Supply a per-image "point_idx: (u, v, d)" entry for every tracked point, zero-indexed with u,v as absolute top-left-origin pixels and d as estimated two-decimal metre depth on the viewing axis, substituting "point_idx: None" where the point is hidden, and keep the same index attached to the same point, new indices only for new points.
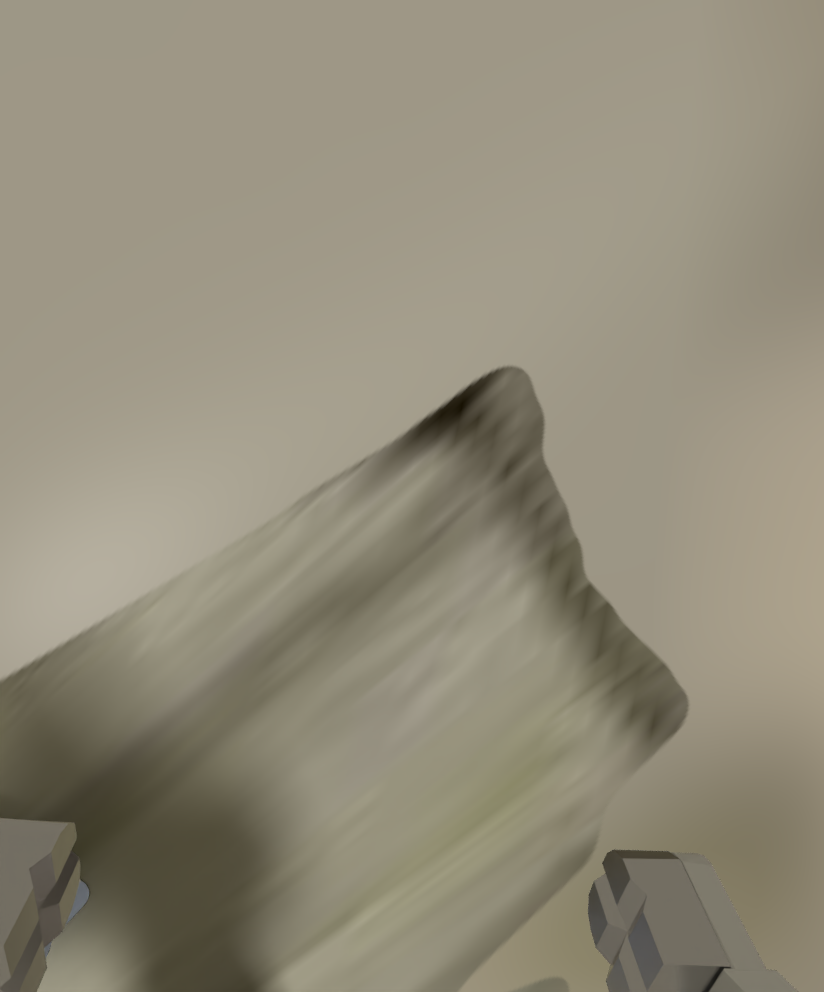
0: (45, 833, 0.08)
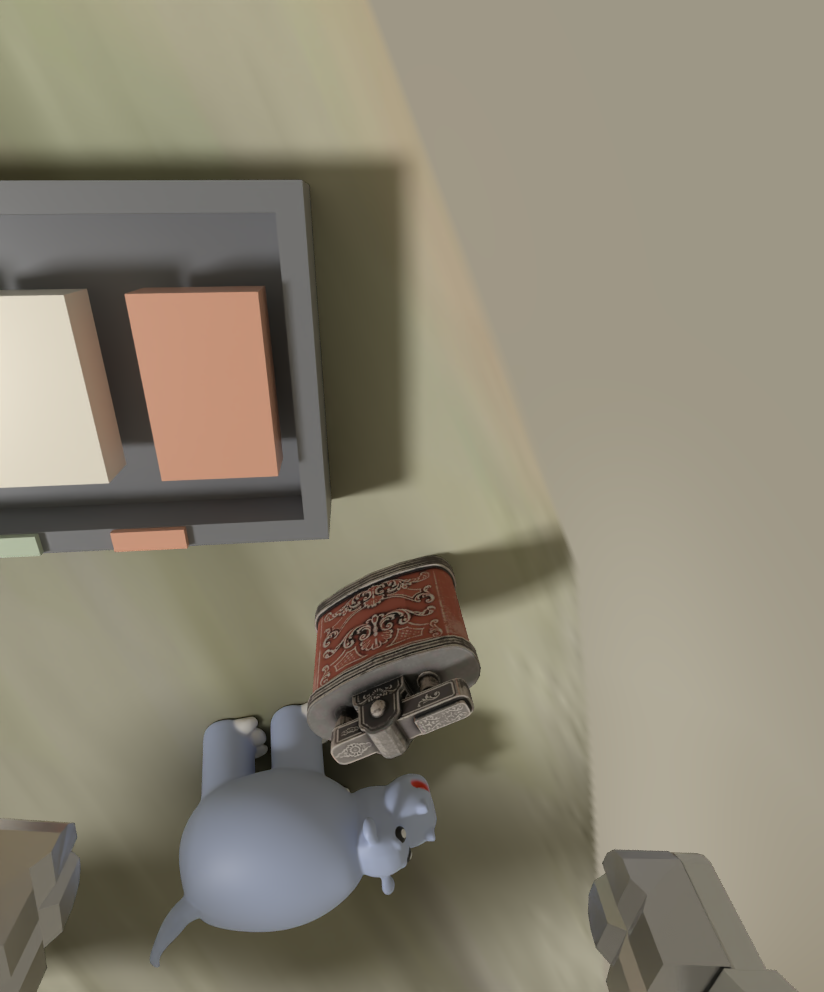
0: (45, 833, 0.08)
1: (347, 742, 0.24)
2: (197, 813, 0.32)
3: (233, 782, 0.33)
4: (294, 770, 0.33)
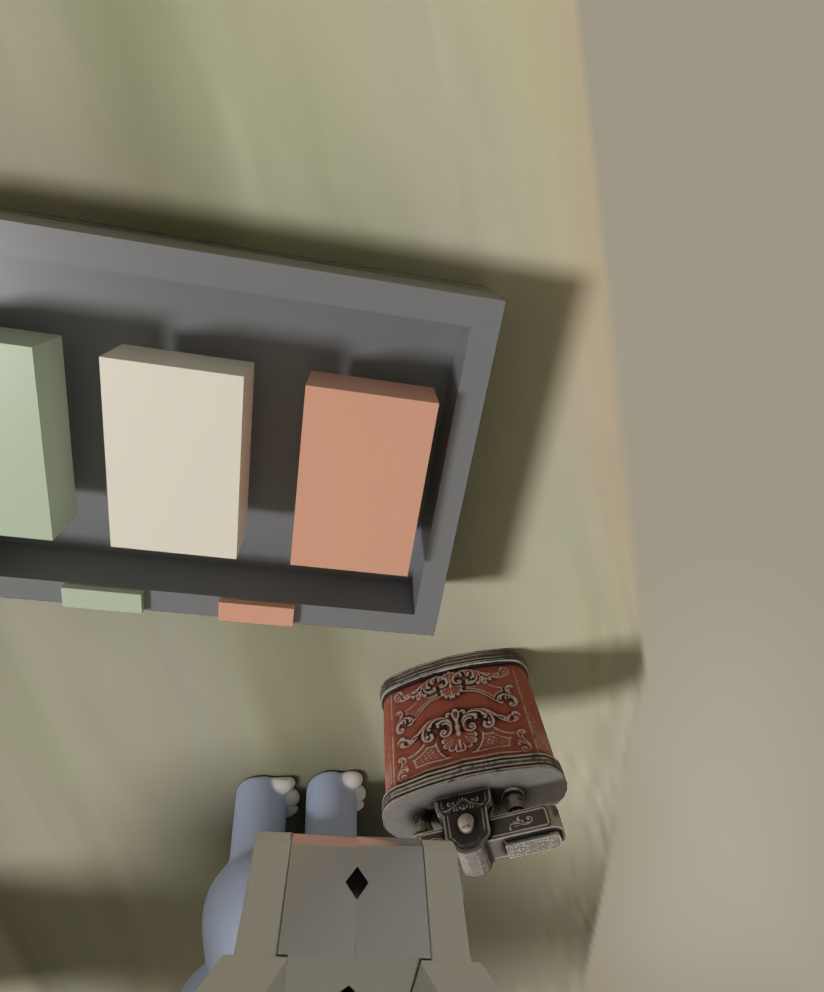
0: (344, 847, 0.08)
1: None
2: (229, 877, 0.31)
3: None
4: None
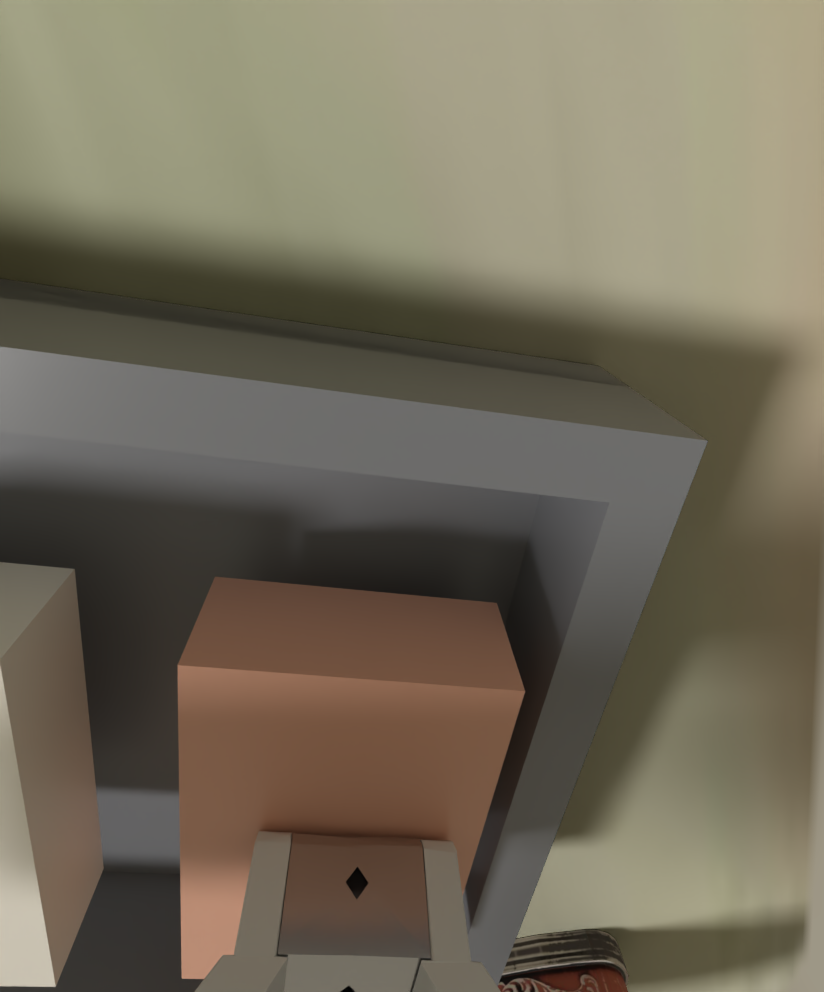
0: (344, 848, 0.08)
1: None
2: None
3: None
4: None
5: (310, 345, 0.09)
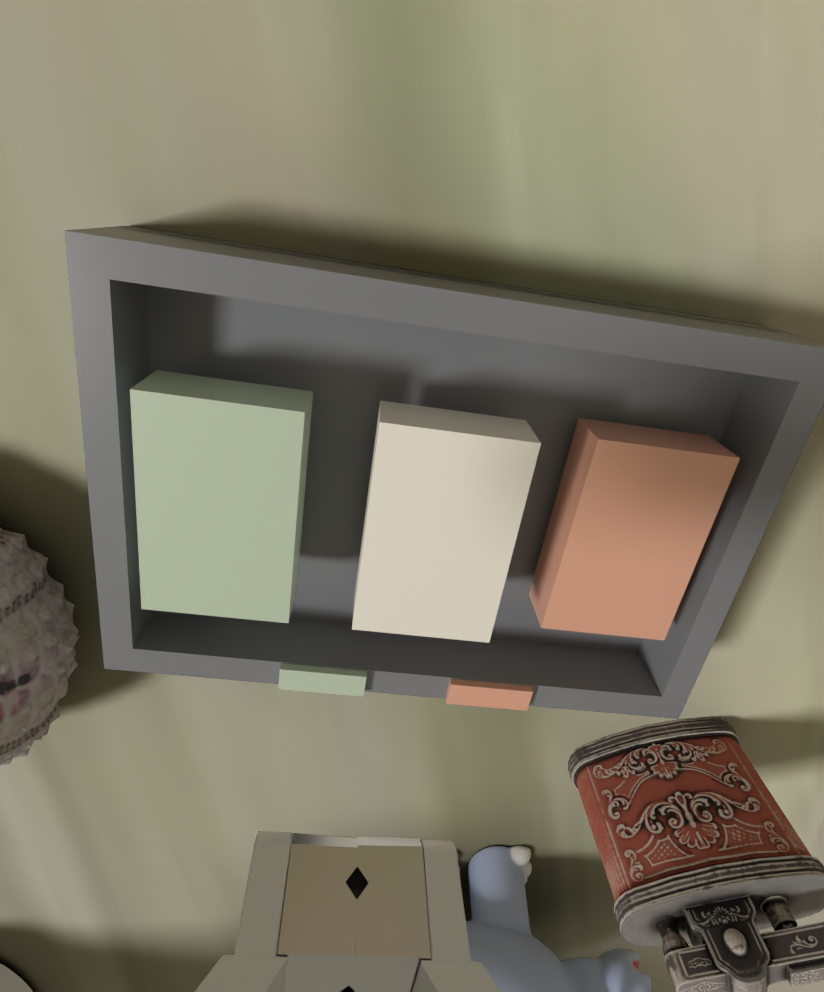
0: (344, 848, 0.08)
1: (701, 980, 0.20)
2: None
3: None
4: (512, 932, 0.29)
5: (642, 311, 0.18)
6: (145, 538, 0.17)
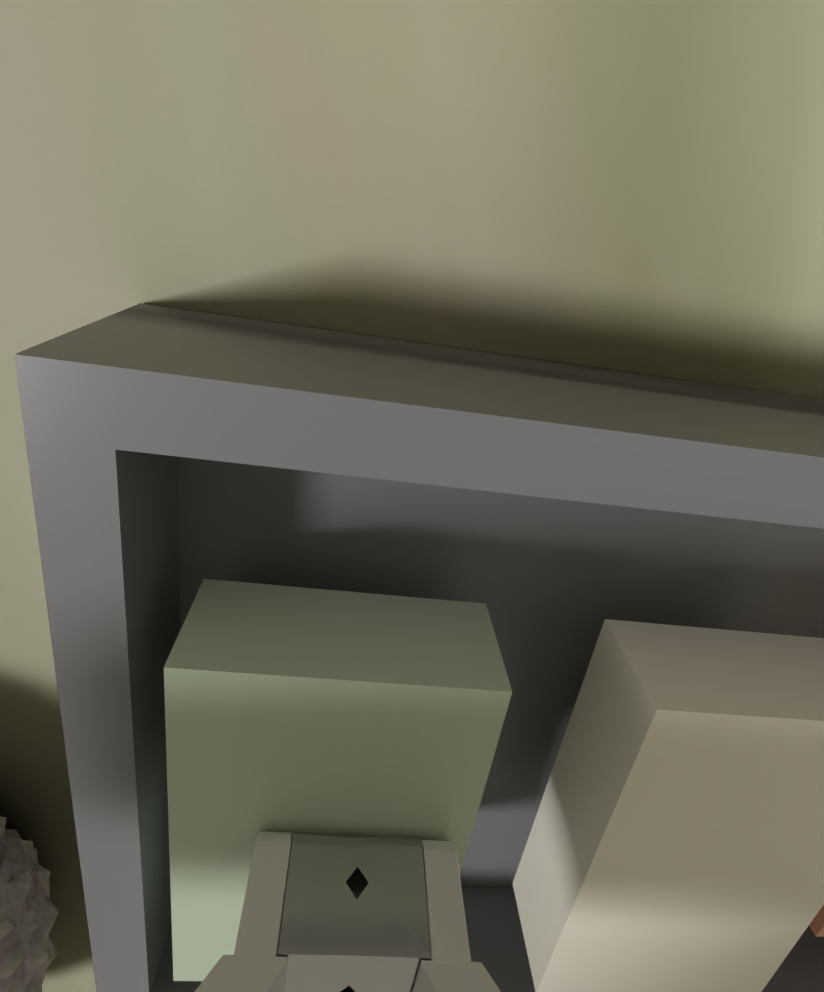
0: (344, 848, 0.08)
1: None
2: None
3: None
4: None
5: None
6: (185, 889, 0.09)
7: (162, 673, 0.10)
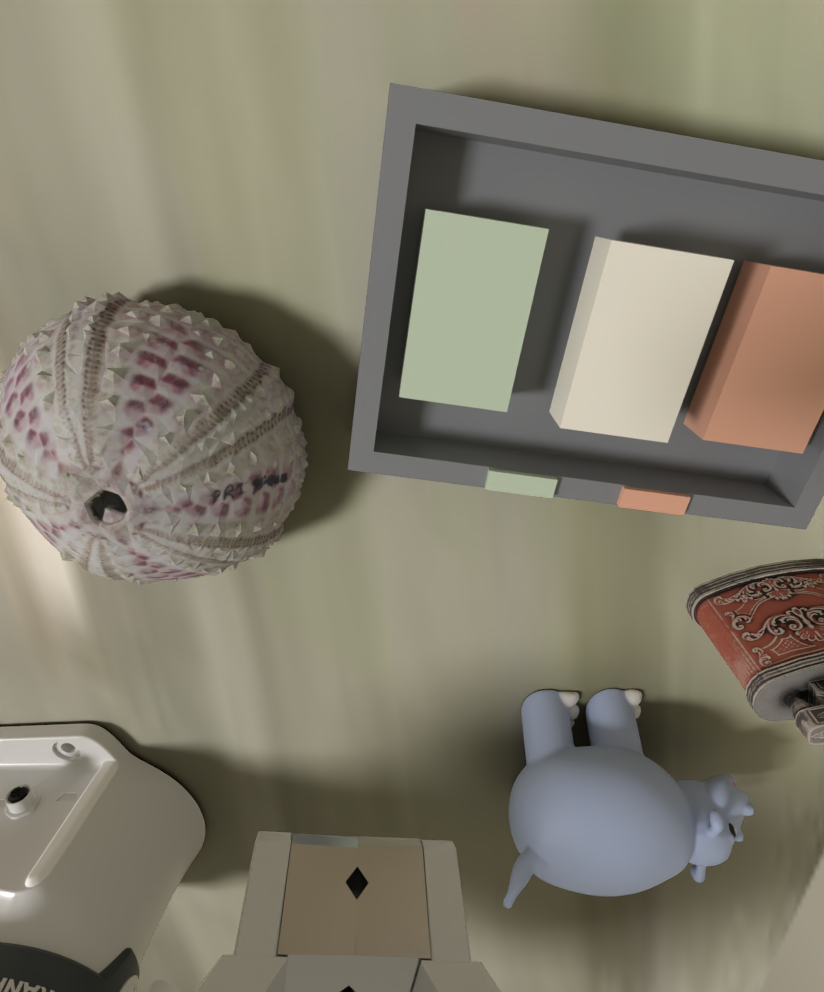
0: (344, 848, 0.08)
1: None
2: (545, 773, 0.34)
3: (576, 751, 0.34)
4: (632, 751, 0.35)
5: None
6: (413, 335, 0.23)
7: None
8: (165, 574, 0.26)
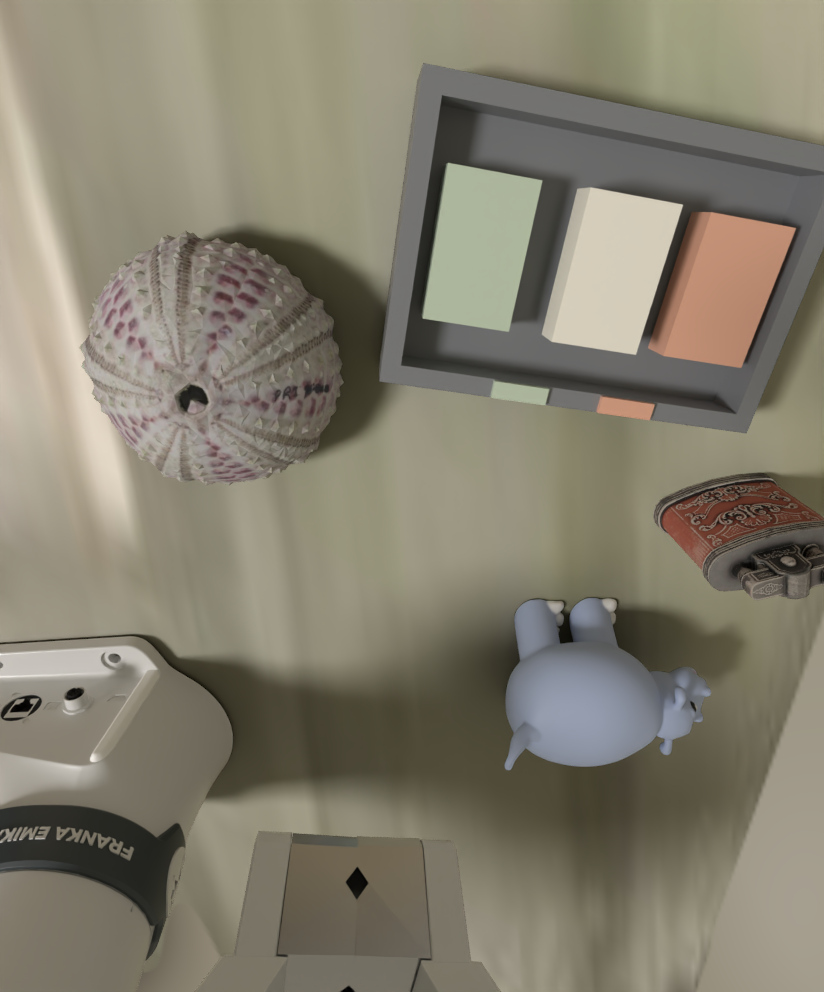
0: (344, 848, 0.08)
1: (767, 581, 0.32)
2: (537, 662, 0.39)
3: (562, 644, 0.40)
4: (609, 644, 0.41)
5: None
6: (435, 266, 0.29)
7: None
8: (228, 469, 0.31)
